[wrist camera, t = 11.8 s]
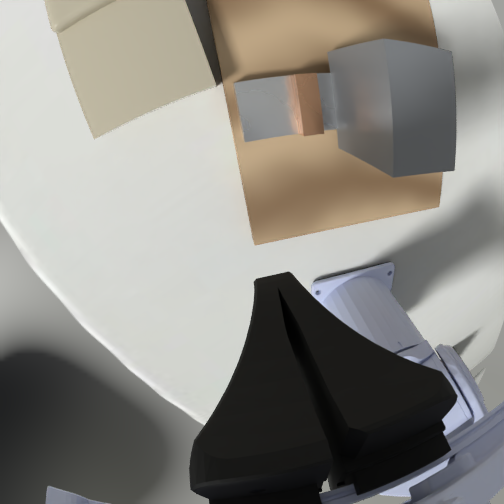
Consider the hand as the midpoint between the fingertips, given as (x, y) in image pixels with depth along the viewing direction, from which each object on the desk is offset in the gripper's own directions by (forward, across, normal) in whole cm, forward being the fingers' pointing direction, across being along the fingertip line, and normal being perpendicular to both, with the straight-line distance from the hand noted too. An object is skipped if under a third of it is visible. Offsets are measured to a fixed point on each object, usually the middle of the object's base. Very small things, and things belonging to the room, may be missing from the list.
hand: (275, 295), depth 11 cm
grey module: (+8, -8, -6) cm, 13 cm away
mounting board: (+10, -8, -6) cm, 14 cm away
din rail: (+9, -8, -6) cm, 13 cm away
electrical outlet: (+10, +5, -16) cm, 20 cm away
